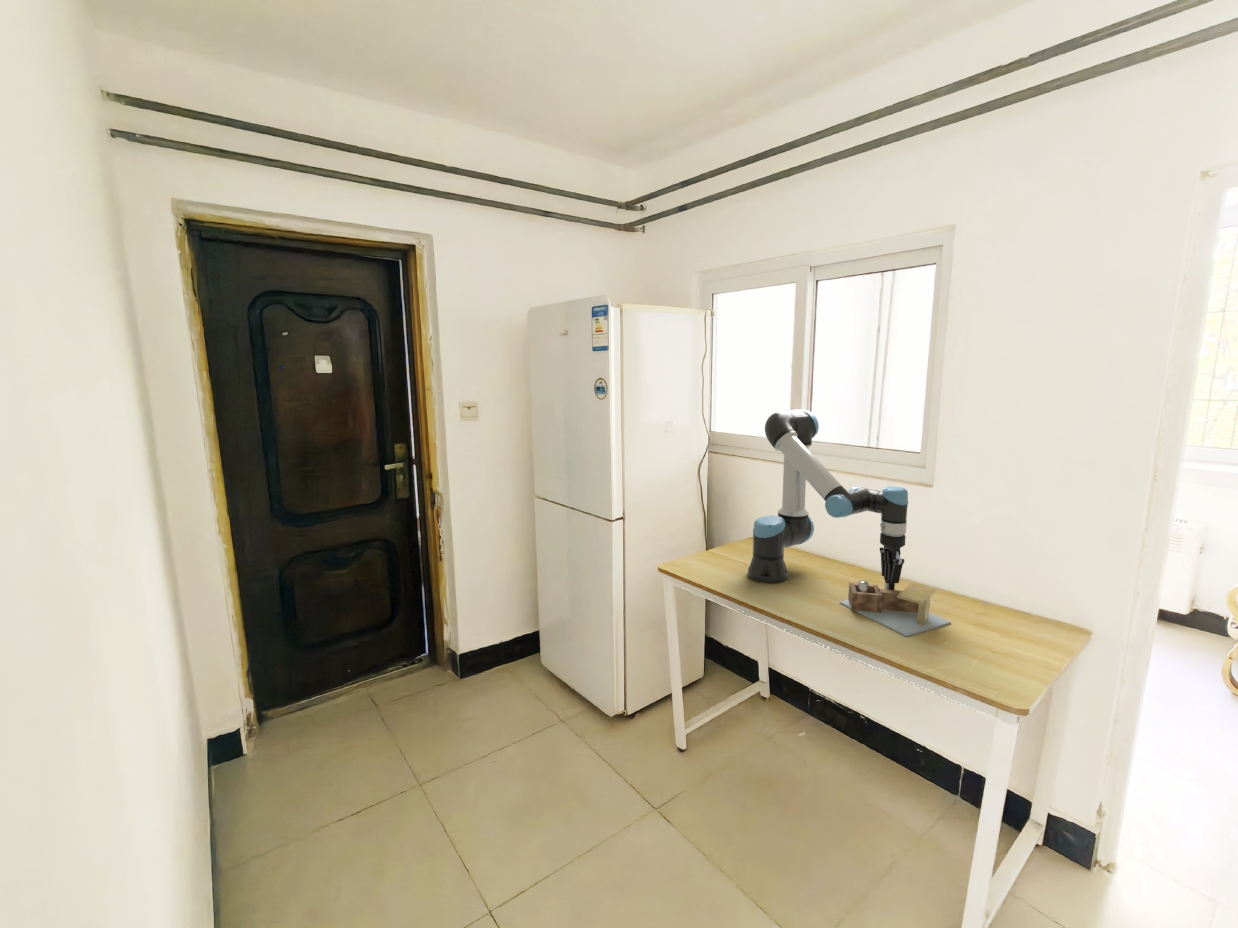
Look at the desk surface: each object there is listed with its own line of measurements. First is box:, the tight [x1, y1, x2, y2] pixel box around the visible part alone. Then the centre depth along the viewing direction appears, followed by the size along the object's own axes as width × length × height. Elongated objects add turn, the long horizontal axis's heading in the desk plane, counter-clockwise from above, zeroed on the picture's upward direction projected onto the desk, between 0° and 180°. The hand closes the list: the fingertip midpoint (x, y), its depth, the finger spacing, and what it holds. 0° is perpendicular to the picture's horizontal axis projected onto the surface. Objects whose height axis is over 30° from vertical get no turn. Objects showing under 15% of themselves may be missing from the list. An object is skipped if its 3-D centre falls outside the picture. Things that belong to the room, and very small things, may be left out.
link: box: [847, 582, 919, 613], centre depth 178 cm, size 21×9×6 cm, turn 74°
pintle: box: [858, 579, 869, 593], centre depth 181 cm, size 3×3×8 cm
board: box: [839, 599, 952, 638], centre depth 176 cm, size 26×20×1 cm
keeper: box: [897, 583, 936, 625], centre depth 169 cm, size 7×13×10 cm, turn 133°
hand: (888, 599), depth 181 cm, fingers closed
